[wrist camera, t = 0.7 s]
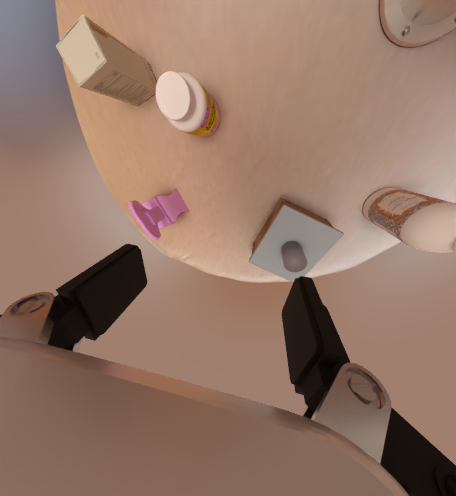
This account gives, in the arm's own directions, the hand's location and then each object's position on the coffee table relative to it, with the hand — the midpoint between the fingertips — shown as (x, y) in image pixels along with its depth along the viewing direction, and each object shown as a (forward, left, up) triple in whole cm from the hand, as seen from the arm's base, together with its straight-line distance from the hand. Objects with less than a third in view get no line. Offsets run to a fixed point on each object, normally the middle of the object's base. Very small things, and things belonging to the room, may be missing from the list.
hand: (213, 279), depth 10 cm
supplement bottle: (-8, -14, -32) cm, 35 cm away
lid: (+6, +13, -24) cm, 28 cm away
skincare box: (-8, -27, -32) cm, 42 cm away
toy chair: (+13, -17, -32) cm, 38 cm away
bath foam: (-8, +26, -32) cm, 42 cm away
